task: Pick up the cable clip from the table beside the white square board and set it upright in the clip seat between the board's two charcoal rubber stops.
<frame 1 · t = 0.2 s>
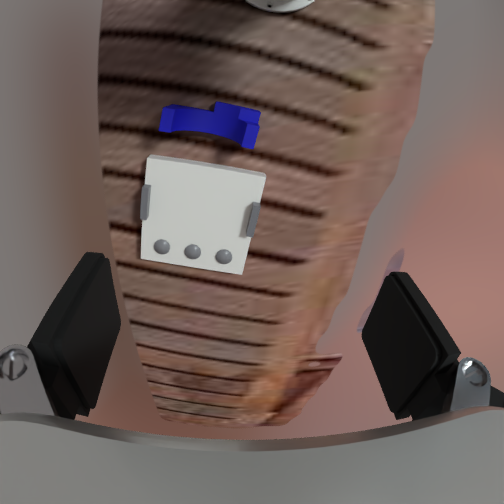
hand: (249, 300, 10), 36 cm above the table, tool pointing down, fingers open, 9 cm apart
white square board: (198, 214, 47), on the table
cable clip: (213, 116, 39), on the table
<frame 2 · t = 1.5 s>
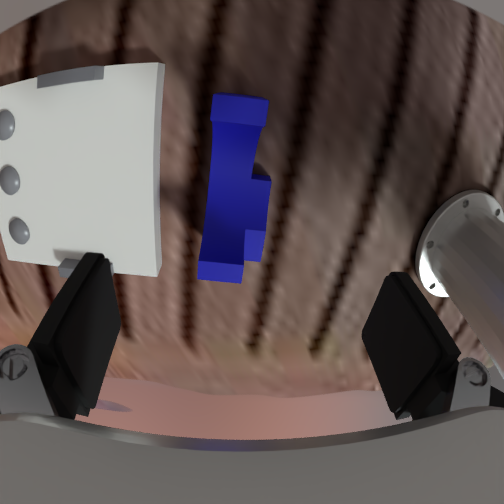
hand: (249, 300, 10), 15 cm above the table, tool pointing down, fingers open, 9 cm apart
white square board: (67, 171, 22), on the table
cable clip: (240, 171, 23), on the table
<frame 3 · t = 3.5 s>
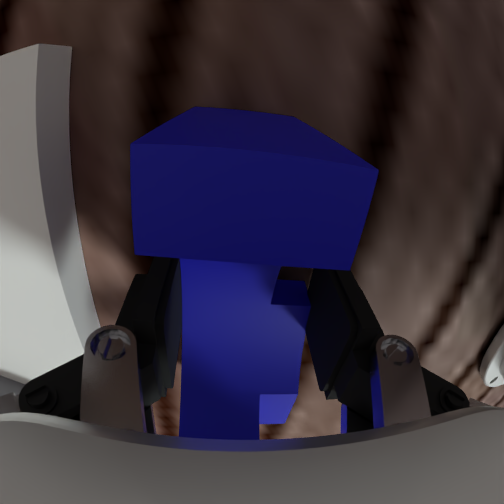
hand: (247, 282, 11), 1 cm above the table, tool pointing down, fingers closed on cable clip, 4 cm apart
cable clip: (246, 274, 12), on the table, touching gripper
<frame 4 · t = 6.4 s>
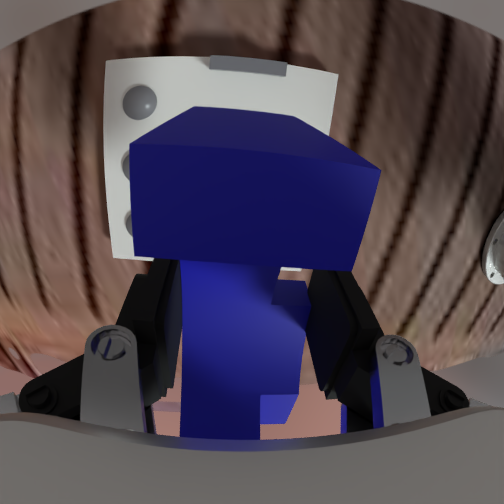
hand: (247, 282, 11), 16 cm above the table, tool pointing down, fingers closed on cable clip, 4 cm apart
white square board: (211, 162, 24), on the table
cable clip: (246, 274, 12), point 15 cm above the table, touching gripper
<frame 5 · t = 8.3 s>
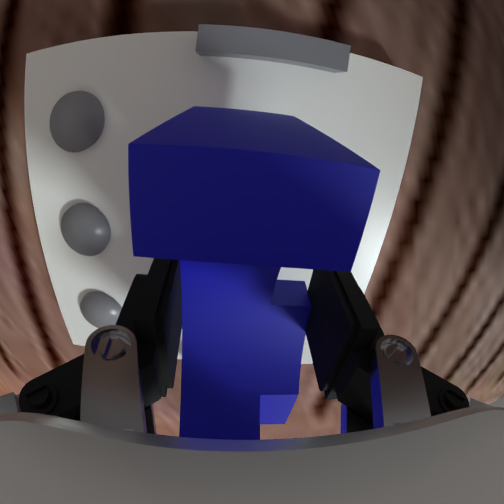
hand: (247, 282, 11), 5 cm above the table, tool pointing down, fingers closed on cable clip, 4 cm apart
white square board: (204, 216, 15), on the table
cable clip: (246, 274, 12), point 4 cm above the table, touching gripper
when the fingers open (3 cm above the table, at t = 9.4 s): cable clip stays where it is, resting on white square board.
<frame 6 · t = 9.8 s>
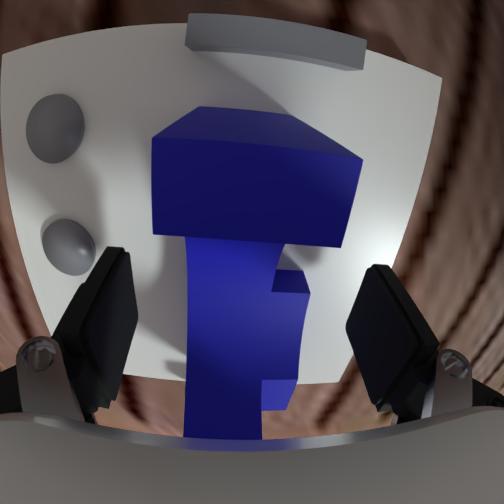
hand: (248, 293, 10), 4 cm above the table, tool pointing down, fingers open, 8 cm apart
white square board: (199, 231, 13), on the table
cable clip: (248, 264, 12), point 2 cm above the table, touching white square board
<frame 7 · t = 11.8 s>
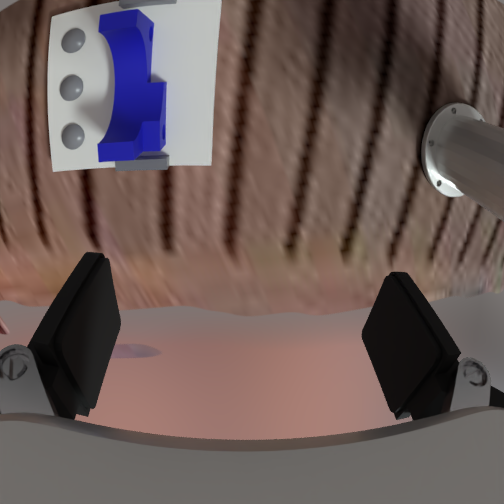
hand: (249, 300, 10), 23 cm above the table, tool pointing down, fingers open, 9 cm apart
white square board: (129, 80, 24), on the table
cable clip: (143, 83, 23), point 2 cm above the table, touching white square board
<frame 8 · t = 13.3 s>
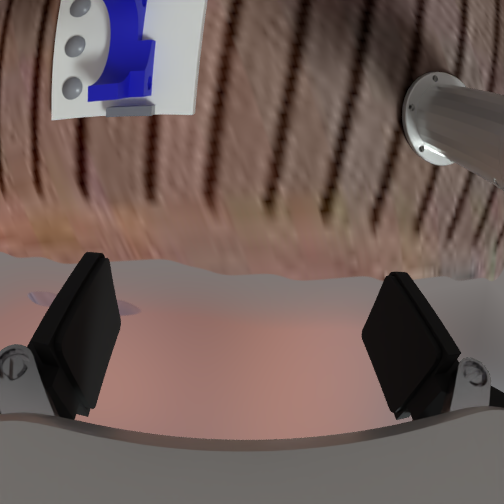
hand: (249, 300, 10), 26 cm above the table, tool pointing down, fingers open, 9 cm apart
white square board: (126, 42, 25), on the table
cable clip: (135, 43, 24), point 2 cm above the table, touching white square board
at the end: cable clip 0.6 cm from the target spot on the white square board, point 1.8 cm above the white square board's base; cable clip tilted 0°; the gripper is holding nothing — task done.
